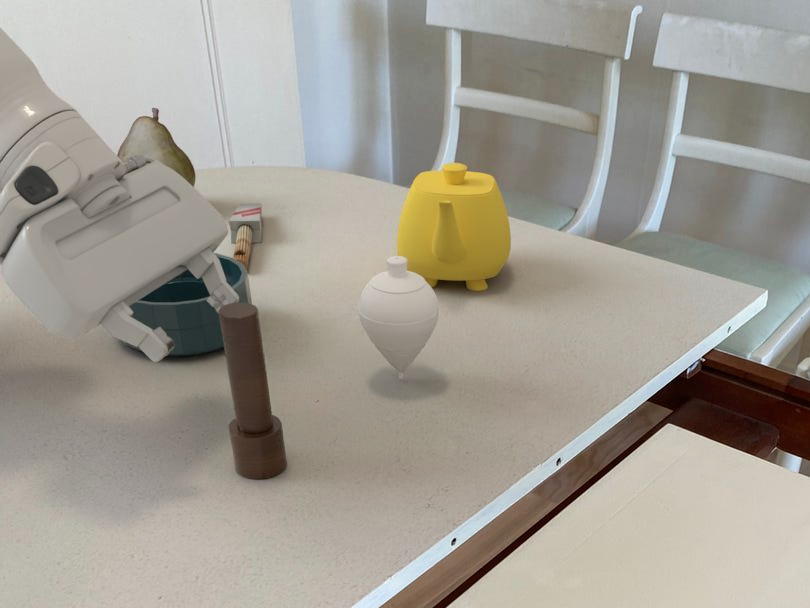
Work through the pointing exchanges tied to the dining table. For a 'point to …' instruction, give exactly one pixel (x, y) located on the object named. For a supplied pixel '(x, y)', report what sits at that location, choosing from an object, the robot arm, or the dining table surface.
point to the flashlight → (250, 396)
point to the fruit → (156, 146)
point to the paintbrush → (246, 230)
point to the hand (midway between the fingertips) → (200, 330)
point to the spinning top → (398, 313)
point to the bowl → (190, 309)
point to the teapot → (454, 227)
